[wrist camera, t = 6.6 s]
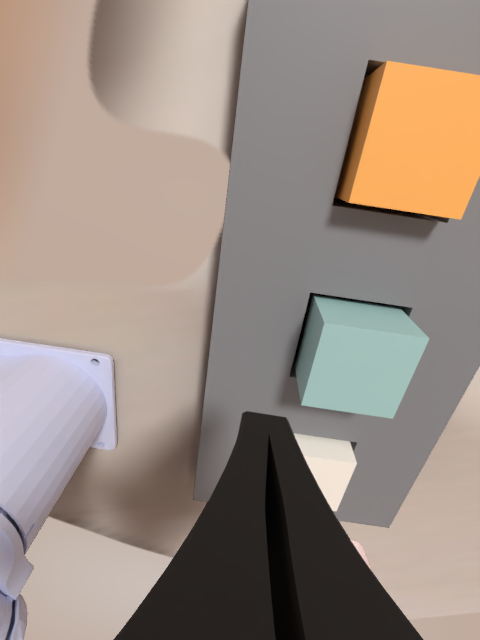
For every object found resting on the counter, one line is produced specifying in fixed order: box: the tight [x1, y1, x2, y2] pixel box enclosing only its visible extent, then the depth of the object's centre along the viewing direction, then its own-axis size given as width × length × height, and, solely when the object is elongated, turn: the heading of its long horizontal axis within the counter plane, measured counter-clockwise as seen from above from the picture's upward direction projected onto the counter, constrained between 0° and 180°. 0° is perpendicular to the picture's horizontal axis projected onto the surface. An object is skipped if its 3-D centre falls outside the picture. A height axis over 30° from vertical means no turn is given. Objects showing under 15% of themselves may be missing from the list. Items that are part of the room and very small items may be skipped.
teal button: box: [295, 295, 429, 419], centre depth 16 cm, size 4×4×3 cm
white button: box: [294, 433, 357, 511], centre depth 21 cm, size 4×4×3 cm
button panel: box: [193, 0, 480, 528], centre depth 17 cm, size 14×28×2 cm, turn 172°
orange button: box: [335, 61, 480, 220], centre depth 13 cm, size 4×4×3 cm
